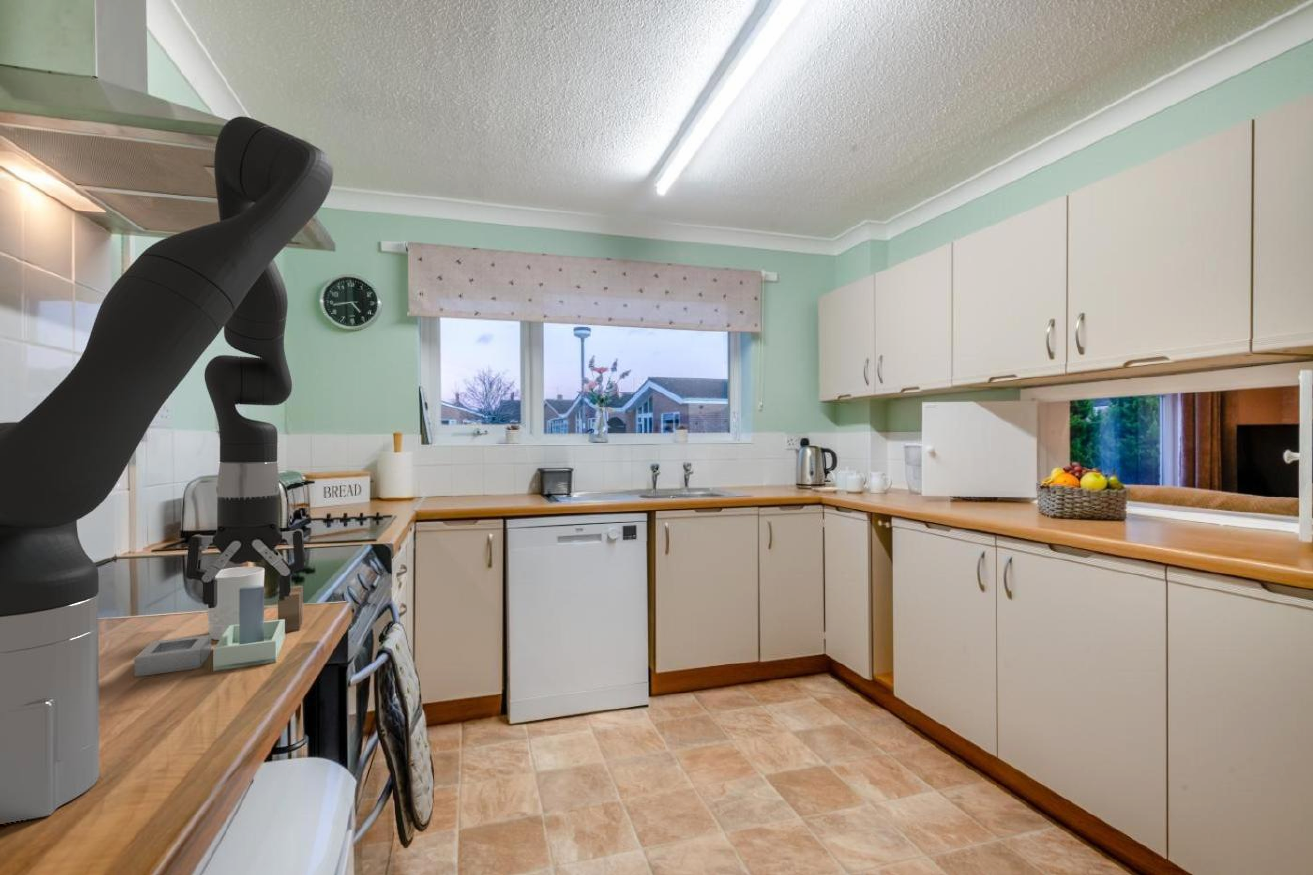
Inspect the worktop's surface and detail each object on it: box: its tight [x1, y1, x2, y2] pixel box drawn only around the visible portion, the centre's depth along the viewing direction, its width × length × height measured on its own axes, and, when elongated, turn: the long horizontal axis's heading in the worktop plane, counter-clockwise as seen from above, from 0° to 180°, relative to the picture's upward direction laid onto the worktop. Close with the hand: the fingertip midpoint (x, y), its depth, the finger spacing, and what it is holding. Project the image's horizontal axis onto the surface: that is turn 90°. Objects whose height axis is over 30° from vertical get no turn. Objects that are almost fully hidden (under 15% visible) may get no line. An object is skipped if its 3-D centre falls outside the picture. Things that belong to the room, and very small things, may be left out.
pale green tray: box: [212, 619, 286, 672], centre depth 88 cm, size 11×7×3 cm, turn 26°
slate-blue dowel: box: [239, 585, 265, 644], centre depth 88 cm, size 3×3×9 cm
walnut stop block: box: [277, 585, 304, 633], centre depth 100 cm, size 6×3×6 cm, turn 26°
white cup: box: [206, 566, 265, 641], centre depth 97 cm, size 8×8×10 cm
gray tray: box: [134, 634, 212, 678], centre depth 84 cm, size 7×7×2 cm
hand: (248, 603), depth 88 cm, fingers open, 8 cm apart
